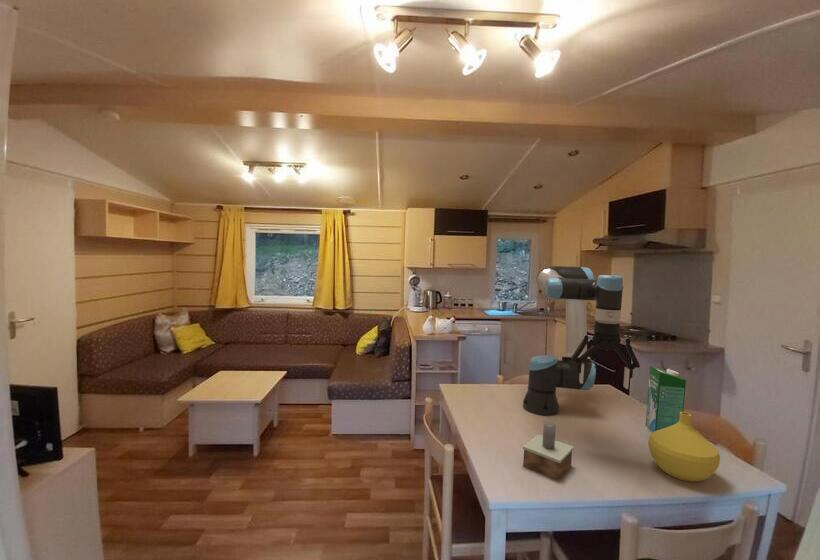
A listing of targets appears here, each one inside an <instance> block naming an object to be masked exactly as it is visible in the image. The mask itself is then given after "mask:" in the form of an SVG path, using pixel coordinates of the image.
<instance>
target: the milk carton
mask: <svg viewBox="0 0 820 560" xmlns="http://www.w3.org/2000/svg"><path fill="white" fill-rule="evenodd" d="M648 376H649V377H648V391H647V392H648V393H647V406H646V415H645V416H646V418H645V427H646V426H647V427H648V428H649V429H650V430H651V431H652V432H654V431H657V430H660V429H663V428H666V427H669V426H672V425H674V424H676V423H678V422H679V417H680V412H685V411H684V410H685V409H684V408H685V399H686V398H685V396H686V388H687V387H686V386H687V380H686V379H685V378H683V377H681V376H680V373H679V372H678V371H675V370H673V369H670V368H667V369H662V368H659V367H656V366H653V365H650V367H649V375H648ZM647 427H646V428H647ZM648 428H647V429H648ZM649 429H648V430H649ZM650 430H649V431H650ZM651 431H650V432H651ZM652 432H651V433H652Z"/></svg>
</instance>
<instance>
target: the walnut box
mask: <svg viewBox="0 0 820 560" xmlns="http://www.w3.org/2000/svg"><path fill="white" fill-rule="evenodd" d="M572 458H573V450H572V451H571V452H570V453H569V454H568V455H567V456H566V458H565V459H564V460H563V461H562V462H561V463H558V462H555V461H553V460H550V459H548V458H545V457H543V456H540V455H537V454H535V453H532V452H530V451H527V450H524V449H523V459H522V460H523V461H522V462H523V463H522V465H523V467H525V468H529V469H530V470H533V471H535V472H537V473H540V474H543V475H545V476H547V477H549V478H552V479H553V480H557V481H559V480H560V478H562V477H563V476H564V474H565V473H566V472H568V470H569V469H570V468H571V466H572Z"/></svg>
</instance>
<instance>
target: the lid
mask: <svg viewBox="0 0 820 560" xmlns="http://www.w3.org/2000/svg"><path fill="white" fill-rule="evenodd" d="M556 427H557V425H556V424H554V423H552V422H544V423H543V430H542V432H543V433H542V434H537V435H535V437H533V438H532V439H531V440H529V441H528V442H527V443H525V444H524V445H523V446H522V450H523V451H524V450H527V451H530V452H532V453H535V454H537V455H540V456H543V457H545V458H548V459H550V460H553V461H555V462H558V463H561V462H562V461H563V460H564V459H565V458H566V456H567V455H568V454H569V453H570V452H571V451H572V452H573V450H574V448H575V447H574V446H572V445H569V444H567V443H564V442H561V441H558V440H556V430H557V428H556Z"/></svg>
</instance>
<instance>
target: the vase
mask: <svg viewBox="0 0 820 560" xmlns="http://www.w3.org/2000/svg"><path fill="white" fill-rule="evenodd" d="M648 449H649V451H650V455H651V457H652V459H653V461H654V462H655V463H656V464H657V466H658V467H659V468H660V469H661V470H662V471H663V472H664V473H666V475H669V476H671V477H673V478H675V479H678V480H680V481H685V482H693V483H694V482H700V481H705V480H706V479H708V478H710V477H711V476H713V475H714V473H715V472H716V470H717V469H718V468H719V466H720V462H721V456H720V453H719V450H718V449H717V447H715V445H713V444H712V443H711V442H710V441H708V440H707V439H706V438H705V437H704V436H703V435H701V434H700V432H699V431H697V430H696V429H695V428H694V427H693V425H692V414H691V413H689V412H685V411H683V412H680V417H679V422H678V423H676V424H674V425H672V426H669V427H666V428H663V429H660V430H657V431H654V432H651V433H650V435H649V436H648Z"/></svg>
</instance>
